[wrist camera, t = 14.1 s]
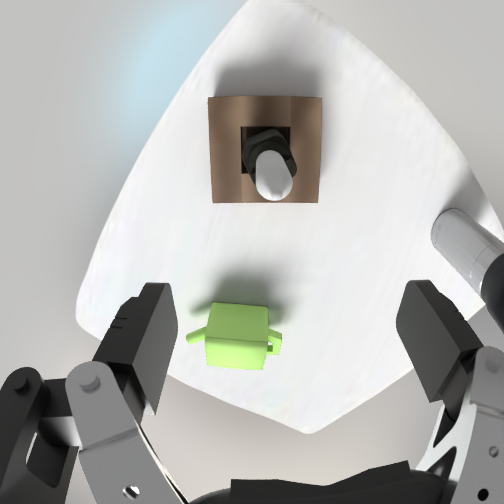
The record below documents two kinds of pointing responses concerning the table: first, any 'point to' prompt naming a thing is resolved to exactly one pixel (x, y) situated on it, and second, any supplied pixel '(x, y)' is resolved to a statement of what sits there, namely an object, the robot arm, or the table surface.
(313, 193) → the holder
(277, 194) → the candle
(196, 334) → the green square pitcher
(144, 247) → the table surface
